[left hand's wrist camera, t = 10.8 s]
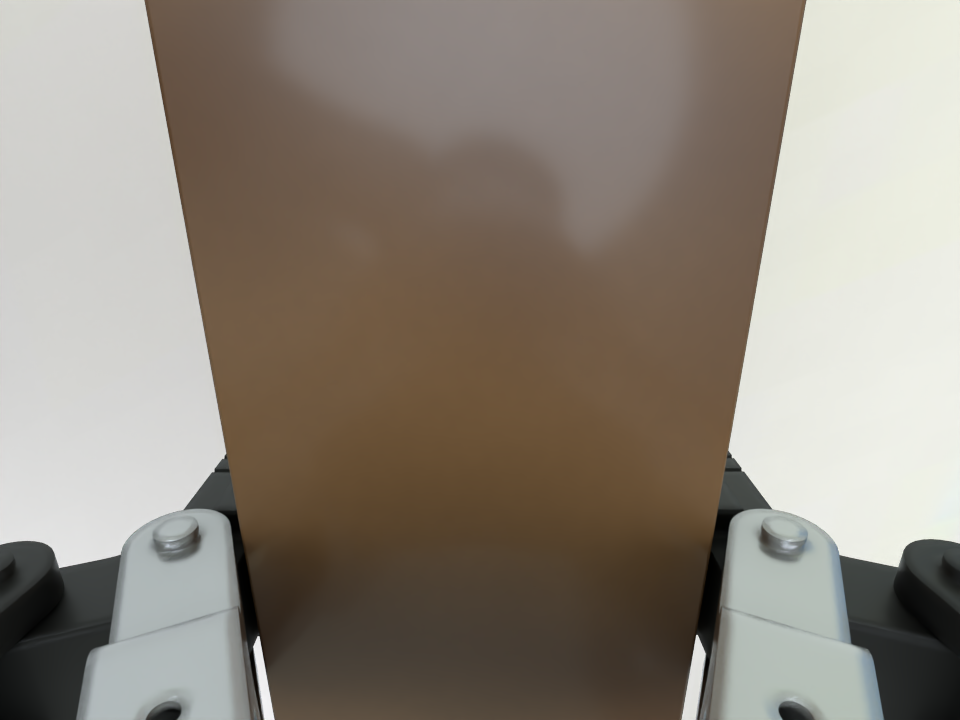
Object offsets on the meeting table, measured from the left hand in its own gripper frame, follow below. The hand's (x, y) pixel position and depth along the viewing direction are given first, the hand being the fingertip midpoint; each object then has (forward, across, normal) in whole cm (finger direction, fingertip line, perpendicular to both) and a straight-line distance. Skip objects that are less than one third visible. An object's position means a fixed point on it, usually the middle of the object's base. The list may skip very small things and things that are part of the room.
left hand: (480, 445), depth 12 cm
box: (+5, 0, +11) cm, 12 cm away
